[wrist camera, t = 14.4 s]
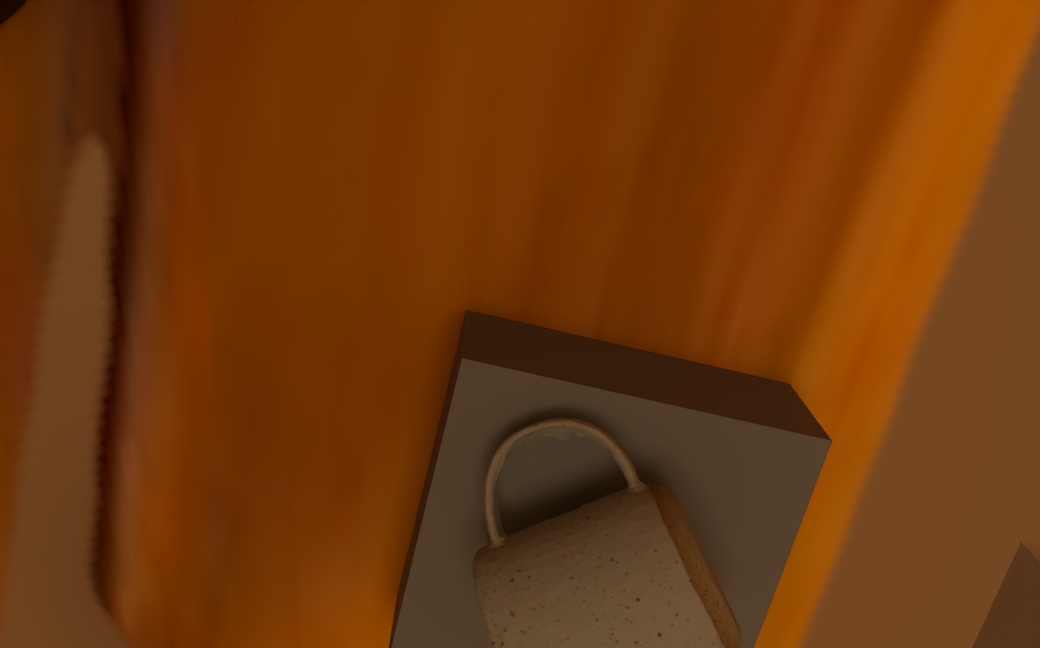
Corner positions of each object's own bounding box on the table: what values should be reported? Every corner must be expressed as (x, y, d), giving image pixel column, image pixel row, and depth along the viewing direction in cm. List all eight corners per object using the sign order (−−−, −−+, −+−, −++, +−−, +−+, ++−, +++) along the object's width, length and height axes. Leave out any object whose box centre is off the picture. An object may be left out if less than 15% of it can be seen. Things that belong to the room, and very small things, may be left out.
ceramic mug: (727, 582, 41) (776, 706, 34) (551, 660, 42) (561, 796, 35) (618, 369, 38) (646, 453, 31) (432, 458, 40) (416, 560, 32)
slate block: (396, 597, 48) (383, 678, 43) (466, 310, 44) (462, 358, 38) (692, 656, 50) (718, 742, 44) (789, 384, 45) (832, 440, 40)
